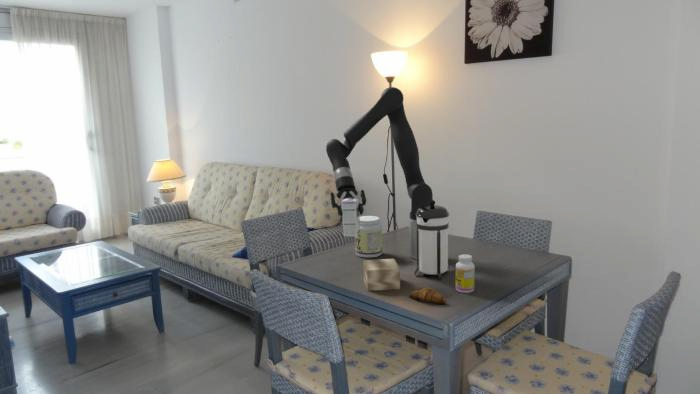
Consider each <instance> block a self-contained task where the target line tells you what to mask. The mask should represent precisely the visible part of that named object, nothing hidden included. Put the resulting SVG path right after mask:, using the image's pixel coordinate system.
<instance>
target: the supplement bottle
mask: <svg viewBox="0 0 700 394" xmlns="http://www.w3.org/2000/svg"><path fill="white" fill-rule="evenodd" d="M472 261H473V256H472V255H471V254H467V253H465V254H463V253H462V254H460V255H458V262H456V264H455V290H456V291H457V292H459V293H461V294H468V293H473V292H474V291H475V270H476V268H475V267H476V266H475V263H473V262H472Z"/></svg>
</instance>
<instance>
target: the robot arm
mask: <svg viewBox="0 0 700 394" xmlns="http://www.w3.org/2000/svg"><path fill="white" fill-rule="evenodd" d="M386 116H387V117H388V122H389V125H390V131H391V132H390V133H391V138H392V140H393V141H392V142H393V146H394V148H395V153H396V155H397V158H398V160H399V164H400V166H401V169H402V171H403V174H404V178H405V179H404V180H405V184H406V190H407V195H408V196H409V198H410V200H411V201H410V202H411V203H410V205H411V208H410V212H409V256H410V258H412V259H416V260H417V227H416V222H417V216H416V212H417V210H418V209H419V208H420V207H422V206H426V205H430V203H429V202H430V201H431V200H434V199H433V190H432V188H431V187H430V185H429V184H427V183H426V182H425V180H424V177H423V174H422V172H421V167H420V152H419V147H418V145H417V141H416V137H415V134H414V132H413V130H412V127H411V125H410V122H409V120H408V119H407V116H406V112H405V107H404V94H403V92H402V90H401V89H399V88H397V87H394V86H389V87H386V88H385V89H384V90H383V91H382V92H381V95H380V97H379V98H378V100H377V101H376V103H375V104H373V106H372V107H371V108H370V109H369V110H368V111H367V112H366V113H364V114H362V116H360V117H359V118H358V119H356V121H355V122H353V124H351V125H350V126H349V128H347V129H346V130H345V131H344V133H343V138H344V139H345V140H344V141H343V143H342V141H340V140H338V139H336V138H332V139H330V140H329V141H327V143H326V146H325V148H326V149H325V150H326V154H327V157H328V159H329V162H330V163H331V166H332V171H333V178H334V183H335V188H336V192H335V193H334V192H333V191H332V192H330V194H329V197H330V203H331V208H332V209H337V214H338V215H337V216H340V217H342V215H343V213H342V202H341V201H343V200H344V199H346V198H358V203H359V216H360V215H361V216H362V215H363V214H364V212H365V211H364V206H366V204H367V198H366V194H365V190H364V189H361V190H360V191H358V190H357V189H356V186H355V182H354V177H353V173H352V170H351V167H350V166H351V165H350V163H349V160H348V157H349V156H350V155H351V153H352V151H353V150H354V148H355V147H356V145H357V144H358V143H359V142H360V141H361V140H362V139H363V138H364V137H365V136H366V135H367V134H368V133H369V132H370V131H371V130H372V129H373V128H374V127H375V126H376V125H377V124H378V123H379V122H380V121H381V120H382V119H384V118H385V117H386ZM336 198H338V202H336Z"/></svg>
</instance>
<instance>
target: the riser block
mask: <svg viewBox="0 0 700 394" xmlns="http://www.w3.org/2000/svg"><path fill="white" fill-rule="evenodd" d="M362 262H363V281H364V283H365V286H366V290H367V291H368V292H369V291H372V290H373V291H384V290H400V289H401V268H400V266H399V265H398V263H397V262H396V259H395V258H384V259H383V258H380V259H364V260H363V261H362Z"/></svg>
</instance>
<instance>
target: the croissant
mask: <svg viewBox="0 0 700 394" xmlns="http://www.w3.org/2000/svg"><path fill="white" fill-rule="evenodd" d="M409 297H410V298H411V299H414V300H417V301H420V302H422V303H428V304H429V303H430V304H437V305H445V304H446V302H447V299H446V298H445V297H444V296H443V295H442V294H440V293H439V292H437V290H436V289H434V288H432V287H427V286H426V287H423V288H421V289H415V290H412V291H410V292H409Z"/></svg>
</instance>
